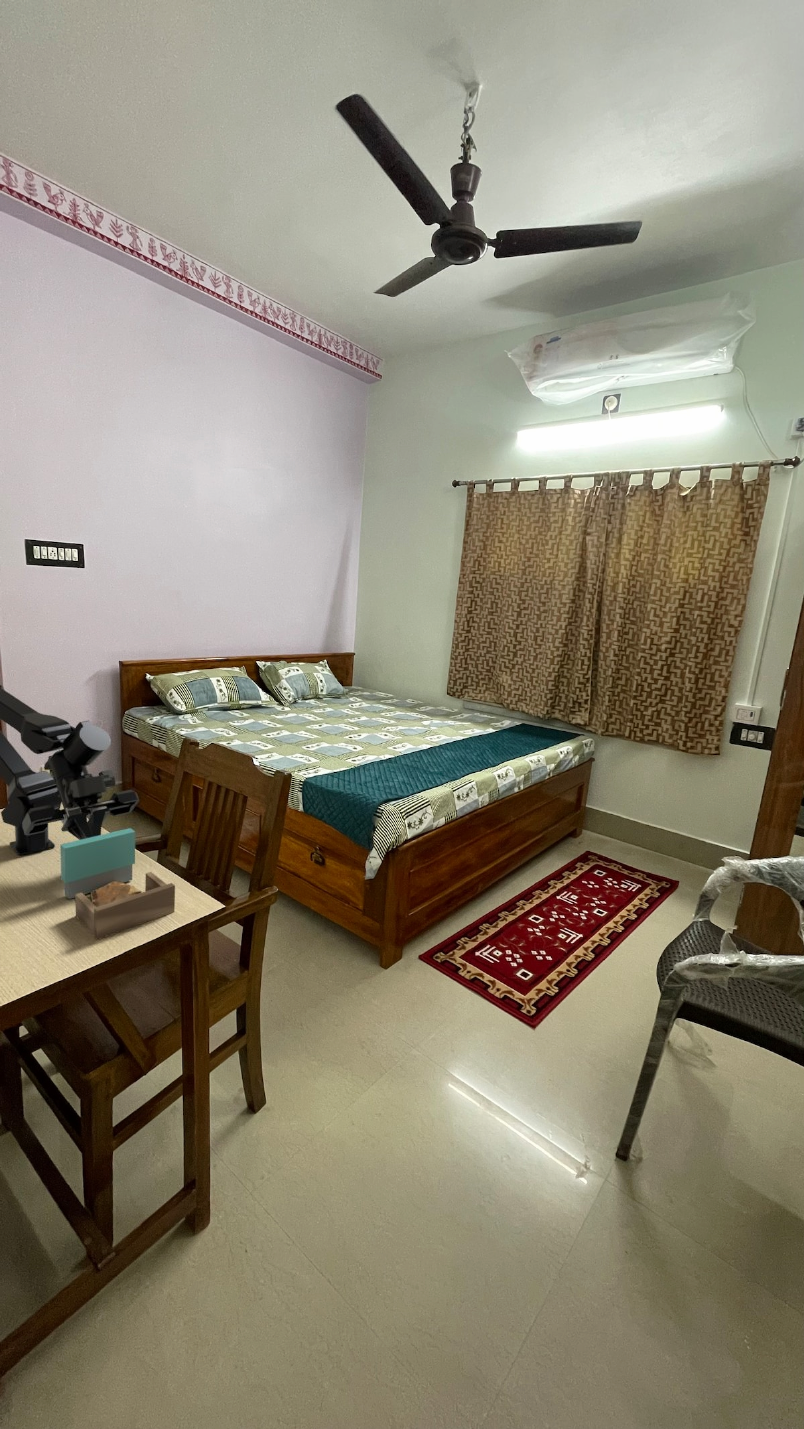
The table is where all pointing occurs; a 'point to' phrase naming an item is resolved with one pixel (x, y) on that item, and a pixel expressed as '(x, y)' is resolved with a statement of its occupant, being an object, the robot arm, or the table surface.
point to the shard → (112, 893)
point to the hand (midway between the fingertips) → (97, 852)
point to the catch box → (127, 908)
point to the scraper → (97, 861)
